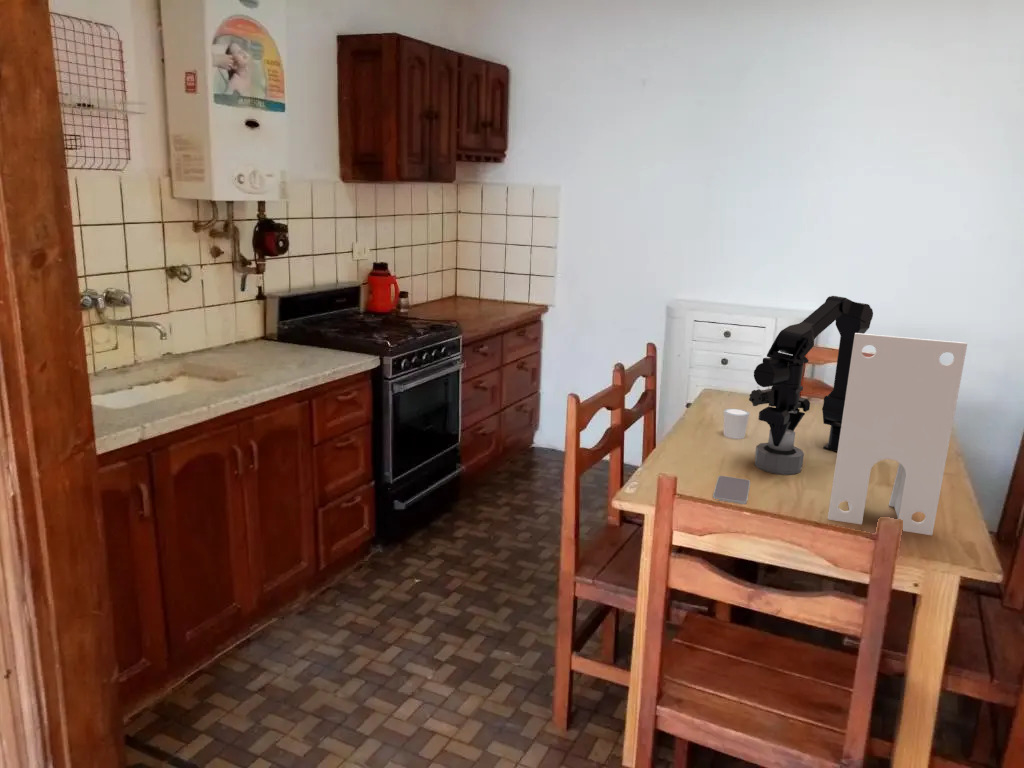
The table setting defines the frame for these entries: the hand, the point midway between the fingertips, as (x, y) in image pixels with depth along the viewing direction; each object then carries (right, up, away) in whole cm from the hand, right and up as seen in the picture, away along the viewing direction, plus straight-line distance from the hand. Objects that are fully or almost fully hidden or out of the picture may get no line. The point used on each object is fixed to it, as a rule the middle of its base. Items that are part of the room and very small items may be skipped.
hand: (780, 442), depth 199 cm
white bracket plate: (+12, -14, -25) cm, 31 cm away
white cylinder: (-5, 0, +25) cm, 25 cm away
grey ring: (0, -6, +2) cm, 6 cm away
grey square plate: (-16, -10, -15) cm, 24 cm away
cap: (0, -1, 0) cm, 1 cm away
